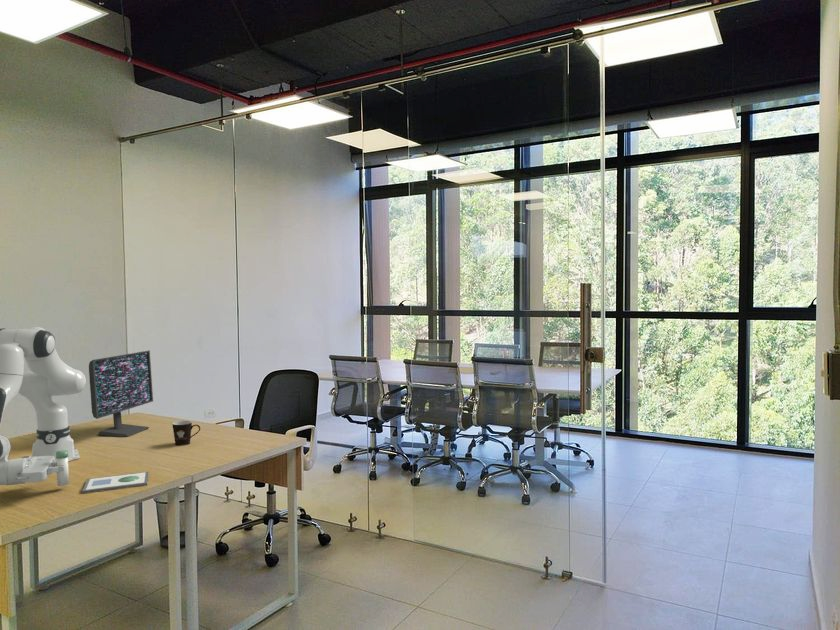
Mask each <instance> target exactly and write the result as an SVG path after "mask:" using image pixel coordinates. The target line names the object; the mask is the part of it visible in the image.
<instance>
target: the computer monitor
mask: <svg viewBox="0 0 840 630" xmlns="http://www.w3.org/2000/svg"><path fill="white" fill-rule="evenodd" d="M88 374H89V375H88V376H89V390H90V403H91V404H90V406H91V414H92V416H93V418H94V419H96V420H98V419H101V418H105V417H107V416H110V415H112V417H113V426H111V427H109V428H106V429H103V430H100V431H99V432H98V433H97V435H98V436H101V437H117V438H118V437H119V438H120V437H121V438H123V437H124V438H127V437H130V436H133V435H135V434H138V433H141V432H143V431H145V430H148V429H149V428H150V427H148V426H142V425H135V424H127V423H126V424H125V423H123V422H122V412H123V411H127V410H130V409H134V408H137V407H140V406H143V405H146V404H149V403H152V402H154V394H153V393H154V392H153V379H152V365H151V350H145V351H138V352H132V353H126V354H119V355H114V356H109V357H108V356H107V357H102V358H101V357H100V358H95V359H92V360H89V363H88Z"/></svg>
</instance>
